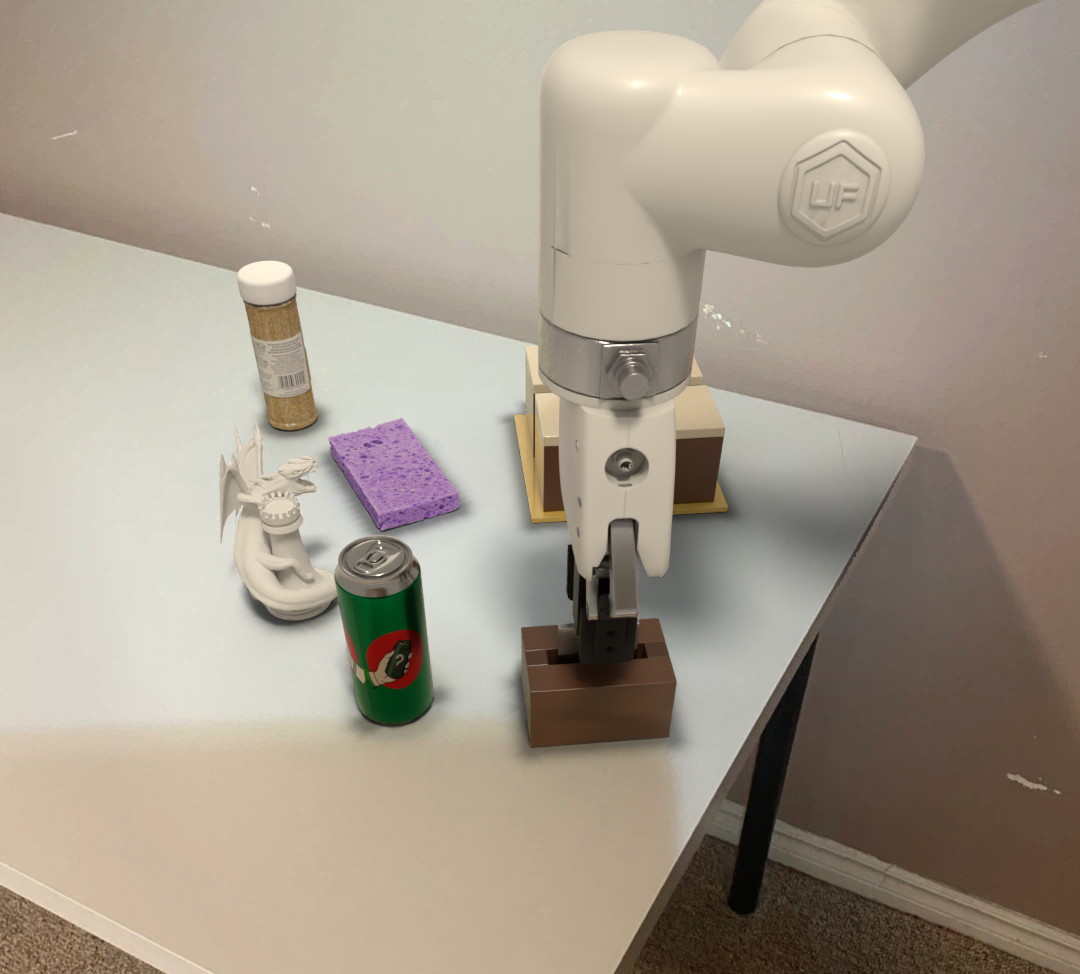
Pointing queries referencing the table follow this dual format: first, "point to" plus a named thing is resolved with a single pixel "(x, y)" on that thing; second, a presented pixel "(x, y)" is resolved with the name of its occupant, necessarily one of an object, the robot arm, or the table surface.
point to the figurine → (273, 532)
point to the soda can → (385, 628)
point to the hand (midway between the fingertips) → (598, 625)
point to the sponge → (393, 474)
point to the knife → (571, 631)
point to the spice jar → (278, 343)
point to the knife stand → (596, 691)
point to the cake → (694, 448)
